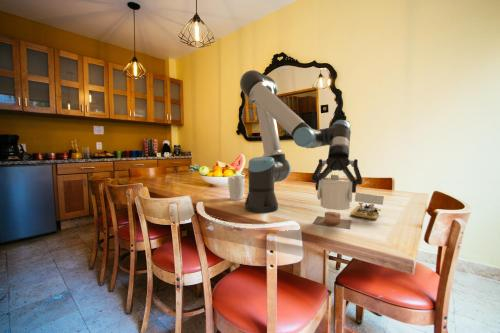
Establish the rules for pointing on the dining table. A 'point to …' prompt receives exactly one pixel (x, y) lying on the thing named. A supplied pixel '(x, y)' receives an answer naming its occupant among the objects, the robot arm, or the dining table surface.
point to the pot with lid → (335, 193)
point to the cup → (236, 187)
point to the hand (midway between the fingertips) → (334, 198)
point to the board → (343, 224)
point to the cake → (366, 210)
